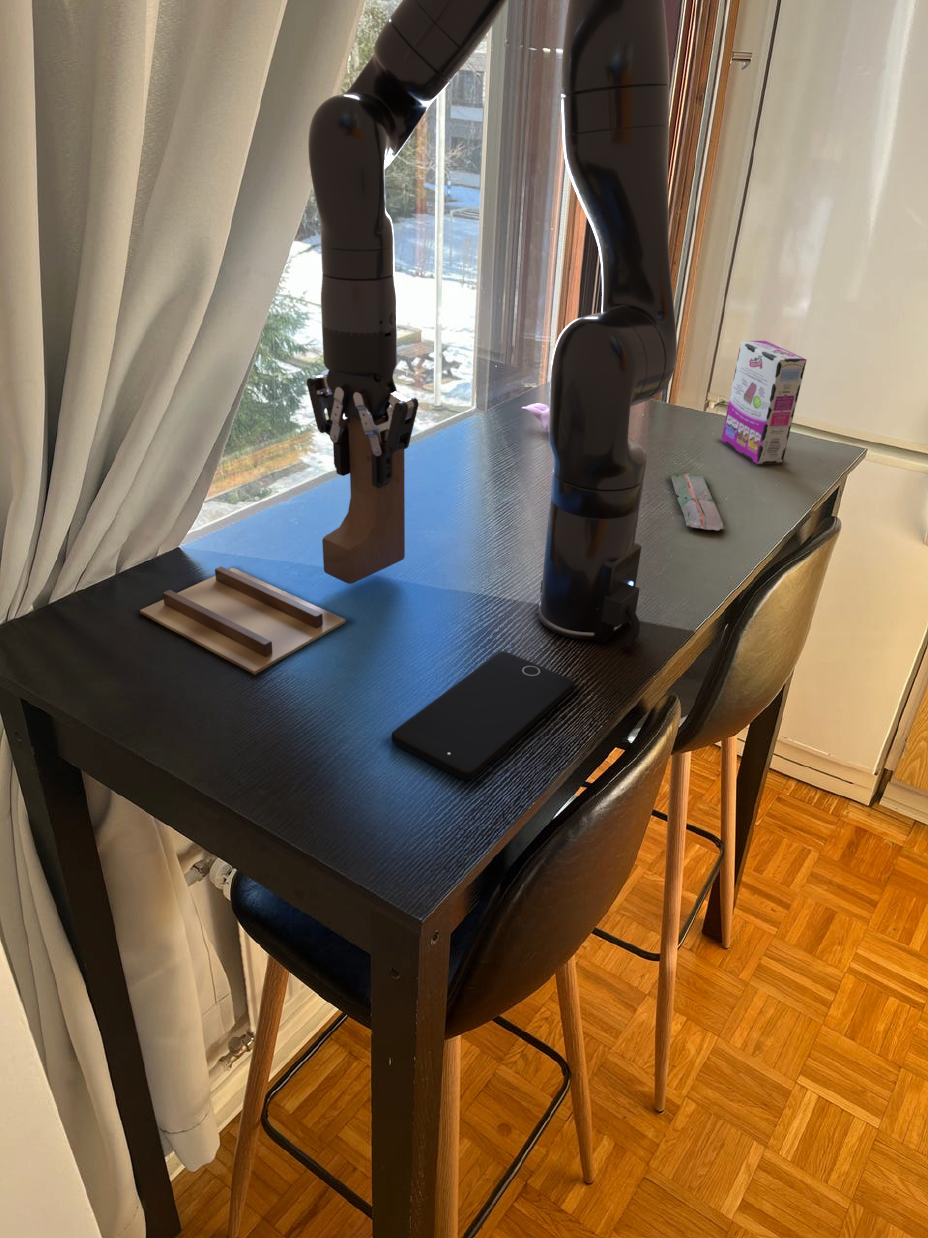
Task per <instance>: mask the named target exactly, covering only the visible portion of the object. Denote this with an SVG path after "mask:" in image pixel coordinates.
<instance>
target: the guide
mask: <svg viewBox="0 0 928 1238" xmlns="http://www.w3.org/2000/svg"><path fill="white" fill-rule="evenodd" d="M214 574H215V575H213V576H211V577H208V578H206V579H205V580H203V581H200V582H198V583H196V584H193V585H191V586H190V587H187V588H186V589H183V590H181V591H179V592H175V591H173V590H172V589H168V590H165V591H164V592H162V600H161V599H160V600H159V601H157V602H154V603H152V604H150V605H147V606H146V607H144V608H142V609H139V614H140V615H143V616H144V617H147V618H148V619H150V620H152V621H154V622H155V623H158V624H159V625H161V626H163V627H165V628H167V629H168V630H170V631H173V632H174V633H176V634H178V635H180V636H182V637H184V638H186V639H187V640H189V641H191V642H193V643H194V644H197V645H199V646H201V647H202V648H204V649H206V650H208V651H210V652H212V653H214V654H215V655H217V656H219V657H221V658H223V659H224V660H227V661H229V662H230V663H232V664H234V665H235V666H238V667H239V668H241V669H243V670H245V671H247V672H249V673H251V674H253V675H257V674H258V673H260V672H262V671H264V670H265V669H268V668H269V667H271V666H272V665H274V664H276V663H278V662H279V661H281V660H282V659H285V658H286V657H288V656H290V655H292V654H293V653H295V652H297V651H299V650H301V649H302V648H304V647H306V646H307V645H310V644H311V643H313V642H314V641H316V640H319V639H320V638H321V637H323V636H325V635H326V634H329V633H330V632H332V631H333V630H335V629H337V628H339V627H341V626H342V625H344V624H346V619H345V618H343V617H341V616H339V615H336V614H334V613H332V612H330V611H328V610H326V609H324V608H322V607H319V606H317V605H315V604H312V603H310V602H308V601H306V600H304V599H302V598H300V597H298V596H295V595H293V594H291V593H289V592H287V591H284V590H282V589H280V588H278V587H276V586H274V585H272V584H269V583H267V582H265V581H263V580H261V579H258V578H256V577H254V576H252V575H250V574H248V573H245V572H244V571H241V570H239V569H237V568H234V567H231V568H229V569H228V568H226V567H225V566H222V565H221V566H219V567H217V568H215V569H214Z"/></svg>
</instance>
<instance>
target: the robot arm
mask: <svg viewBox="0 0 928 1238" xmlns="http://www.w3.org/2000/svg"><path fill="white" fill-rule="evenodd" d="M507 1H508V0H402V1H401V2H400V3H399V4H398V6H397V7H396V8H395V10H394V11H393V13H392V14H391V16H390V18H389V19H388V20H387V21H386V23H385V24H384V25H383V27H382V29H381V30H380V32H379V34H378V36H377V38H376V40H375V43H374V47H373V54H372V56H371V57H370V59H369V60H368V62H367V63H366V65H365V66H364V67H363V69H362V70H361V71H360V72H359V75H358V76H357V77H356V78H355V80H354V81H353V83H352V84H351V85H350V87H349V88H348V89H347V90H346V91H345V93H342V94H338V95H334V96H331V97H329V98H328V99H326V100H324V101H323V102H322V103H321V104H320V105H319V106H318V108H317V109H316V111H315V112H314V114H313V116H312V118H311V122H310V125H309V131H308V142H307V143H308V148H307V149H308V162H309V170H310V177H311V181H312V182H311V184H312V188H313V192H314V198H315V199H314V200H315V203H316V208H317V212H318V216H319V220H320V251H321V253H320V254H321V272H322V274H321V275H322V277H321V288H320V308H321V309H320V310H321V311H320V312H321V335H322V356H323V357H322V358H323V360H322V361H323V365H324V367H325V368H326V369H327V370H328V372H327V373H326V372H325V373H321V374H318V375H315V376H311V377H308V378H307V379H306V387H307V390H308V394H309V399H310V403H311V407H312V410H313V416H314V420H315V424H316V428H317V430H318V432H319V433H320V434H326V435H328V436H329V440H330V441H331V442H332V449H333V452H332V453H333V466H334V468H335V472H336V474H337V475H339V476H341V477H345V476H347V475H350V458H349V429H348V423H350V418H356V419H358V420H359V421H361V422H362V426H363V430H364V433H365V434H366V435H368V436H369V439H370V443H371V447H372V451H373V453H374V454H373V455H371V461H372V485H373V486H374V487H377V488H381V487H383V486H385V485H387V484H389V482H390V481H391V480H392V477H393V472H392V471H393V468H392V467H393V464H392V455H393V454H394V453H396V452H398V451H401V450H404V451H405V450H406V449H408V448H409V446H410V441H411V439H412V434H413V430H414V425H415V422H416V418H417V413H418V409H419V400H418V399H417V398H416V397H414V396H412V397H409V398H408V397H405V396H403V395H402V394H400V393H399V392H397V391H398V390H397V386H396V384H395V381H394V372H395V369H396V368H397V365H398V310H397V309H398V299H397V297H398V296H397V290H396V283H395V282H396V281H395V274H394V273H395V236H394V226H393V221H392V218H391V216H390V215H389V214H388V212H387V210H386V186H385V185H386V183H385V169H386V168H387V167H388V166H389V165H390V164H391V163H392V161H393V160H394V159H395V158H396V157H397V156H398V154H399V153H400V151H401V150H402V148H403V147H404V146H405V145H406V143H407V141H409V138H410V137H411V136H412V134H413V133H414V131H415V129H416V128H417V126H418V125H419V123H420V122H421V120H422V119H423V117H424V115H425V113H427V111H428V109H429V107H430V105H431V104H432V103H433V102H434V100H435V99H436V98H437V97H438V96H439V95H440V94H441V93H442V92H443V91H444V90H445V88H447V86H448V85H449V84H450V83H451V81H453V79H454V77H455V76H456V75H457V73H458V72H459V71H460V69H461V68H462V67H463V66H464V64H465V63H466V62H467V61H468V60H469V58H470V57H471V56H472V55H473V53H474V52H475V51H476V49H477V48H479V45H480V44H481V42H482V41H483V40H484V39H485V37H486V36H487V34H488V32H489V31H490V30H491V29H492V27H493V26H494V23H495V22H496V20H497V19H498V17H499V15H500V14H501V12H502V11H503V8H504V7H505V6H506V3H507ZM666 17H667V16H666V7H665V0H568V4H567V12H566V19H565V27H564V35H563V47H562V59H561V79H560V81H561V82H560V96H561V99H560V100H561V125H562V126H561V129H562V130H561V132H562V146H563V154H564V161H565V165H566V169H567V172H568V175H569V178H570V181H571V184H572V186H573V188H574V191H575V194H576V196H577V198H578V201H579V202H580V205H581V207H582V209H583V211H584V214H585V215H586V218H587V220H588V223H589V224H590V227H591V229H592V232H593V234H594V238H595V241H596V244H597V247H598V253H599V258H600V267H601V293H602V294H601V295H602V296H601V311H600V312H596V313H592V314H589V315H588V314H587V315H585V316H582V317H579V318H576V319H575V320H573V321H571V322H570V323H568V325H566V326H565V328H563V330H562V332H561V333H560V334H559V336H558V339H557V341H556V343H555V347H554V350H553V354H552V358H551V359H552V360H551V367H550V378H549V379H550V382H549V405H548V406H549V432H548V440H549V445H550V448H551V452H552V456H553V467H552V476H551V485H550V487H551V488H550V495H549V496H550V497H549V507H548V508H549V509H548V517H547V527H546V528H547V529H546V538H545V549H544V559H543V571H542V580H541V582H540V592H539V593H540V597H539V598H540V599H539V600H540V602H539V606H538V619H539V621H540V622H541V624H542V625H543V626H544V627H545V628H546V629H548V630H549V631H551V632H553V633H554V634H557V635H560V636H562V637H566V638H569V639H574V640H581V641H595V642H598V643H601V644H604V643H606V642H607V641H608V640H609V639H610V638H612V637H613V636H614V635H616V634H617V633H619V632H620V631H621V630H622V629H623V628H624V627H625V626H627V624H629V623H631V632H630V634H629V636H628V637H627V639H626V640H625V642H624V645H625V646H626V647H628V648H632V647H633V645H634V643H635V642H636V640H637V639H638V637H639V634H640V631H641V624H640V620H639V617H638V615H637V608H638V601H639V596H640V595H639V594H640V590H641V589H640V587H637V586H636V585H637V578H638V573H639V572H638V571H639V566H640V561H641V553H642V545H641V544H639V543H637V542H636V541H635V540H636V534H637V527H638V520H639V514H640V507H641V501H642V494H643V487H644V480H645V475H646V469H647V461H648V458H647V457H648V456H647V452H646V450H645V448H644V447H643V446H642V445H641V444H640V443H639V442H638V441H635V440H633V439H631V438H629V429H630V428H629V427H630V417H631V415H630V414H631V407H633V406H636V405H638V404H642V403H644V402H647V401H649V400H652V399H653V398H655V397H656V396H658V395H660V394H661V393H662V392H663V391H664V390H665V389H666V388H667V386H668V385H669V383H670V381H671V380H672V378H673V374H674V371H675V369H676V364H677V355H678V338H677V324H676V323H677V322H676V314H675V303H674V293H673V283H672V282H673V281H672V273H671V260H670V238H669V237H670V235H669V233H670V232H669V230H670V229H669V228H670V226H669V225H670V223H669V221H670V220H669V217H670V213H669V212H670V210H669V206H670V205H669V203H670V202H669V199H670V198H669V147H670V145H669V144H670V59H669V43H668V41H669V40H668V29H667V28H668V27H667V18H666ZM390 407H391V410H390ZM325 410H326V411H325ZM326 413H327V416H326ZM382 416H383V417H385V418H384V422H382V423H379V424H376V425H375V424H374V422H373V421H375V420H377V419H380V418H381V417H382ZM327 417H328V419H327ZM381 431H382V433H383V442H382V441H381V437H380V432H381Z"/></svg>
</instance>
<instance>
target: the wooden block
mask: <svg viewBox="0 0 928 1238" xmlns="http://www.w3.org/2000/svg"><path fill="white" fill-rule="evenodd" d="M390 410H391V406H390ZM384 418H385V417H383V416H382V417H381V418H380V419H377V420H375V421H373V422H374V424H375V425H376V424H379V423H382V422H384ZM348 429H349V458H350V473H349V482H350V487H349V488H350V499H349V505H348V511H347V514H346V515H345V517H344V518H343V521H341V524H340V526H338V527H337V528H335V529H334V530H333V531H330V532H329V533H328V534H326V535H325V536H323V537H322V541H321V542H322V558H323V559H322V560H323V571H324V573H325V574H327V575H329V576H331V577H334V578H335V579H337V580H339V581H341V582H344V583H346V584H347V585H352V584H354V583H356V582H358V581H361V580H362V579H365V578H367V577H369V576H371V575H374V574H375V573H378V572H380V571H382V570H384V569H386V568H388V567H390V566H393V565H395V564H397V563H399V562H401V561H404V559H405V557H406V555H405V553H406V547H405V546H406V544H405V543H406V539H405V537H406V535H405V534H406V530H405V529H406V527H405V526H406V523H405V521H406V520H405V517H406V516H405V512H406V511H405V510H406V508H405V504H406V503H405V501H406V500H405V499H406V498H405V495H406V494H405V491H406V490H405V449H404V450H401V451H398V452H396V453H394V454H393V455H392V464H393V467H392V468H393V471H392V472H393V477H392V480H391V481H390V482H389V484H387V485H385V486H383V487H381V488H377V487H374V486H373V485H372V461H371V455H373V454H374V453H373V451H372V447H371V443H370V439H369V436H368V435H366V434H365V433H364V430H363V426H362V422H361V421H359V420H358V419H356V418H350V423H348ZM380 437H381V441H382V442H383V433H382V431H381V432H380Z"/></svg>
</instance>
